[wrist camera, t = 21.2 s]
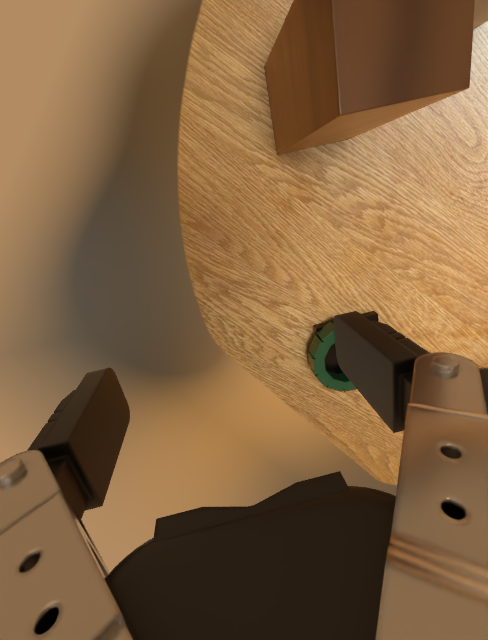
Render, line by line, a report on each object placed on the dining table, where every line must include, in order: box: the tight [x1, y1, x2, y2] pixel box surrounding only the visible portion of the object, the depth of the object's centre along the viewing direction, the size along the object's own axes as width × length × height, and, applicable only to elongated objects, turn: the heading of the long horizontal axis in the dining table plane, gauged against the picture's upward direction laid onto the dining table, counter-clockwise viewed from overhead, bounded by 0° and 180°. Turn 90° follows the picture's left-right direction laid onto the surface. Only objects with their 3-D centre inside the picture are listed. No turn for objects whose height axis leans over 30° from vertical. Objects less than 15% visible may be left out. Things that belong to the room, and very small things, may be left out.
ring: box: [308, 320, 357, 392], centre depth 44 cm, size 10×10×2 cm
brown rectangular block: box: [264, 0, 475, 155], centre depth 26 cm, size 8×8×18 cm
